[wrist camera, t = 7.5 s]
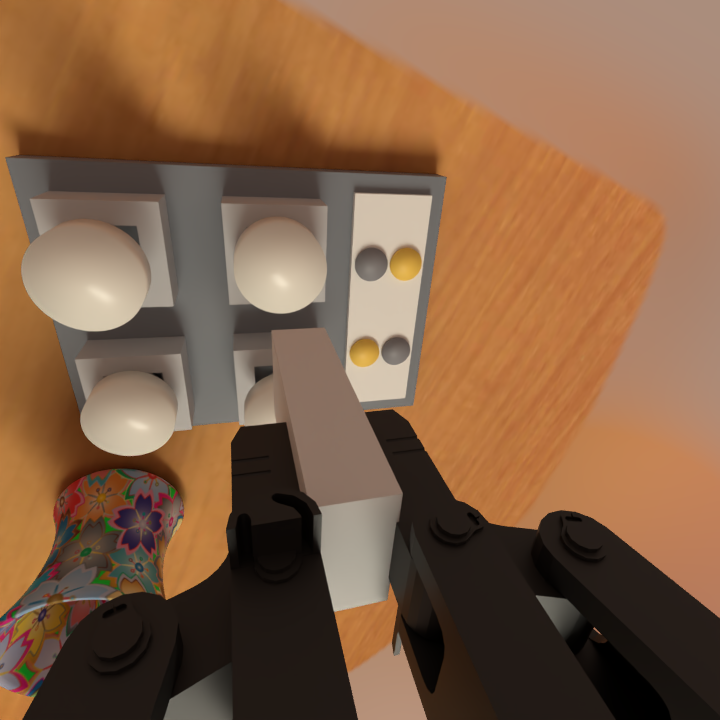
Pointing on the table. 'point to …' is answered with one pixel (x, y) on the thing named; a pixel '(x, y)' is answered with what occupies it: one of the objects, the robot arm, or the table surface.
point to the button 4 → (279, 265)
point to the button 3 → (260, 403)
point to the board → (216, 272)
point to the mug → (89, 566)
